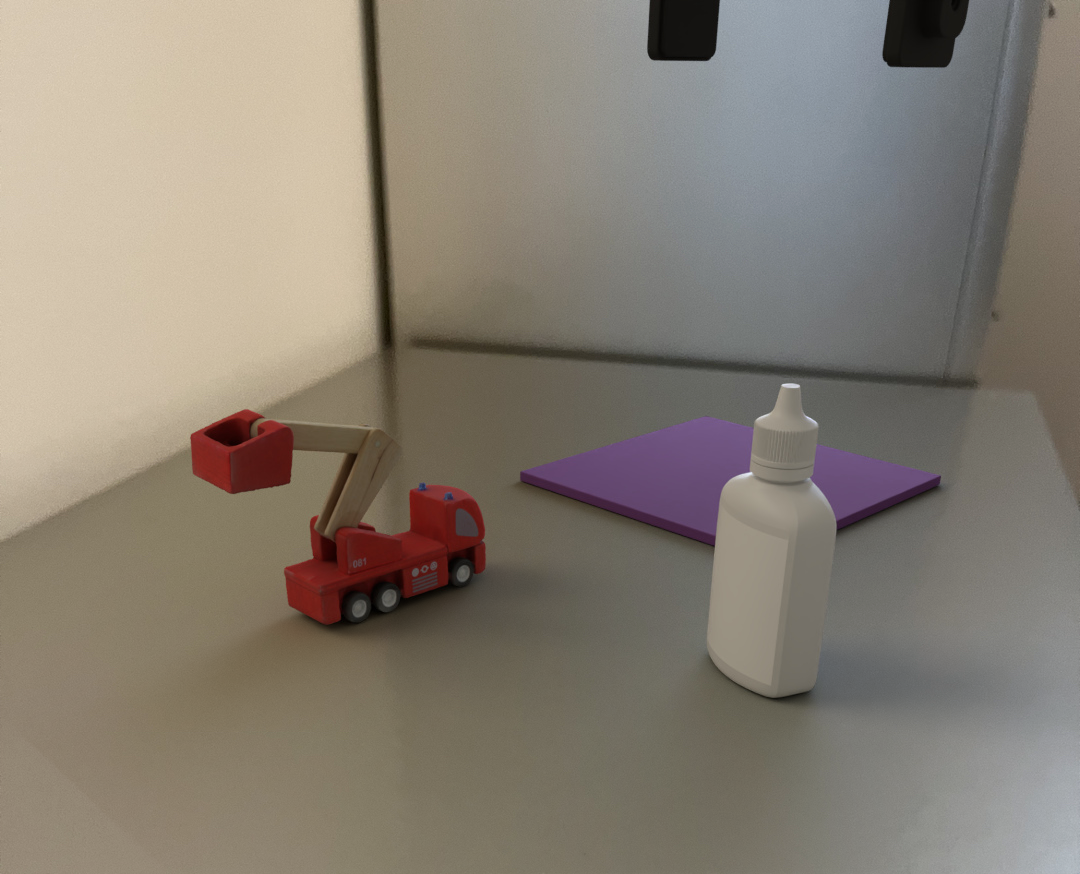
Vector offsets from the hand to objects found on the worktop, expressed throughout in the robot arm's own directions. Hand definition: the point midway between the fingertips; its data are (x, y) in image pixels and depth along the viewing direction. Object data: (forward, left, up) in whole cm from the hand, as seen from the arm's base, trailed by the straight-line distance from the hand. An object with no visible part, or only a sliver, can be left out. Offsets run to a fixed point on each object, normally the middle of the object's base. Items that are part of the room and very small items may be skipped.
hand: (790, 63), depth 41 cm
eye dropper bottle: (0, +2, -23) cm, 23 cm away
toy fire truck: (+8, -15, -23) cm, 29 cm away
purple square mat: (-19, -14, -23) cm, 32 cm away
